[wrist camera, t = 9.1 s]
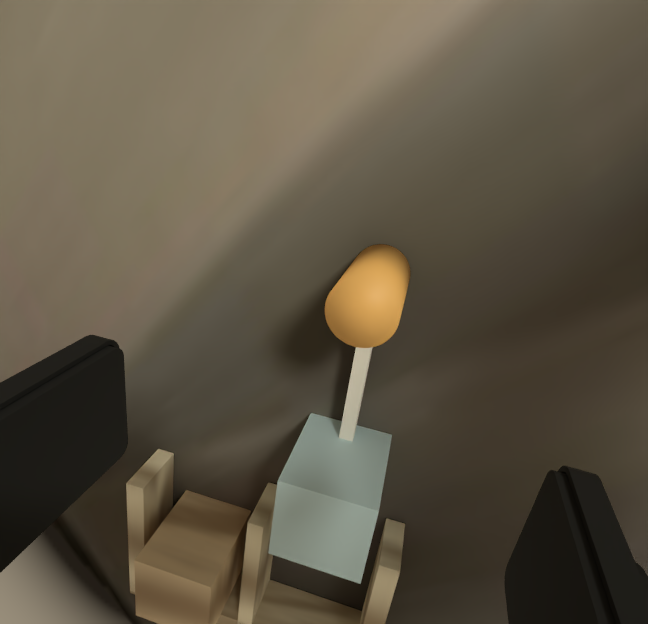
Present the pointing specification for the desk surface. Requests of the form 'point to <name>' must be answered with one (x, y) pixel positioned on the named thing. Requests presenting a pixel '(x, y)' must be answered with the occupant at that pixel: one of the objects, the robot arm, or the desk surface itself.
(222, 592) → the plain block
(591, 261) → the desk surface
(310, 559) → the block
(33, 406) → the robot arm
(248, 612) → the shelf lanes
